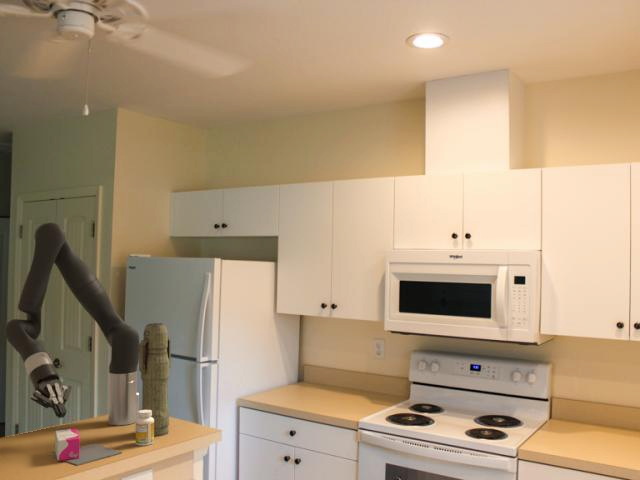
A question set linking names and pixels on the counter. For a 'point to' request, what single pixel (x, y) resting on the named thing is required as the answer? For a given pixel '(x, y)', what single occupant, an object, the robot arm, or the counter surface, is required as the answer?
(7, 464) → the counter surface
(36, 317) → the robot arm
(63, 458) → the supplement box
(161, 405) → the thermos
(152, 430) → the supplement bottle
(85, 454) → the rubber mat
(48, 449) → the counter surface
